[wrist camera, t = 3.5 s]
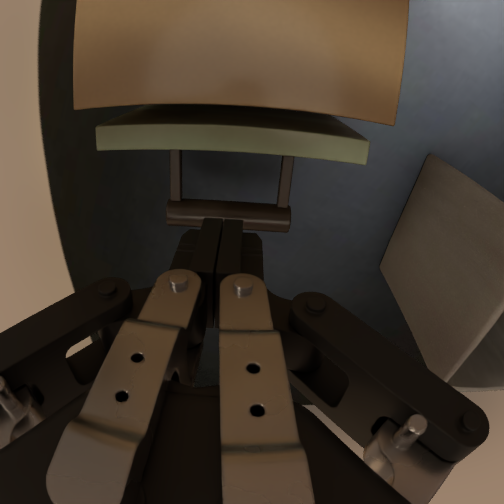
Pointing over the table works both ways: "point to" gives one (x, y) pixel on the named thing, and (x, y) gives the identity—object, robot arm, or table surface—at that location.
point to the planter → (452, 276)
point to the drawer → (234, 140)
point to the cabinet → (243, 54)
